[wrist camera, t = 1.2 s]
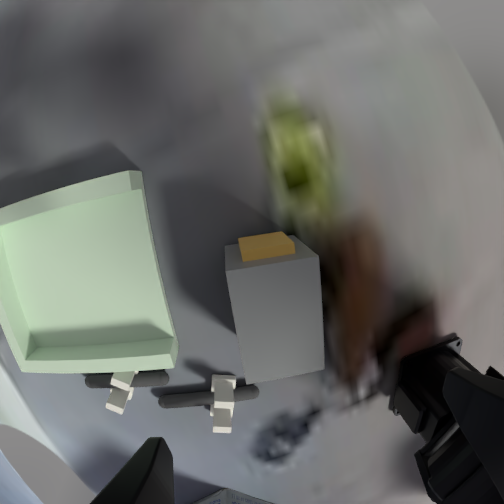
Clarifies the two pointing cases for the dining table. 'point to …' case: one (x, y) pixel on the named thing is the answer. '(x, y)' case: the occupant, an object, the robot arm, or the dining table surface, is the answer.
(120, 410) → the clip
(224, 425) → the clip
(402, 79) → the dining table surface
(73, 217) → the holder
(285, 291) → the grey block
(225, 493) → the soda pack
